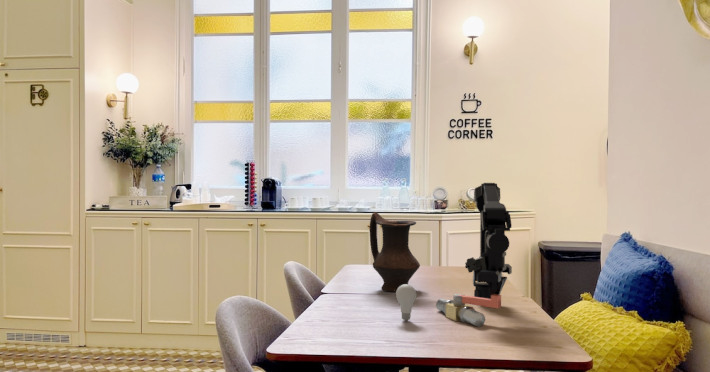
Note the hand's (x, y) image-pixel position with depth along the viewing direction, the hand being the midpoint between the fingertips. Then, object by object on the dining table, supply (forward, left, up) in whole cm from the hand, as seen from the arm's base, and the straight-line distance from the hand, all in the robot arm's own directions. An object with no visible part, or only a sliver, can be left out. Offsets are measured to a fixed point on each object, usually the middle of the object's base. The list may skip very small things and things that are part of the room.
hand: (495, 301), depth 166 cm
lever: (+5, -3, -2) cm, 6 cm away
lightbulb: (+25, -10, -6) cm, 27 cm away
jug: (+7, -59, -6) cm, 59 cm away
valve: (+8, -8, -6) cm, 12 cm away
